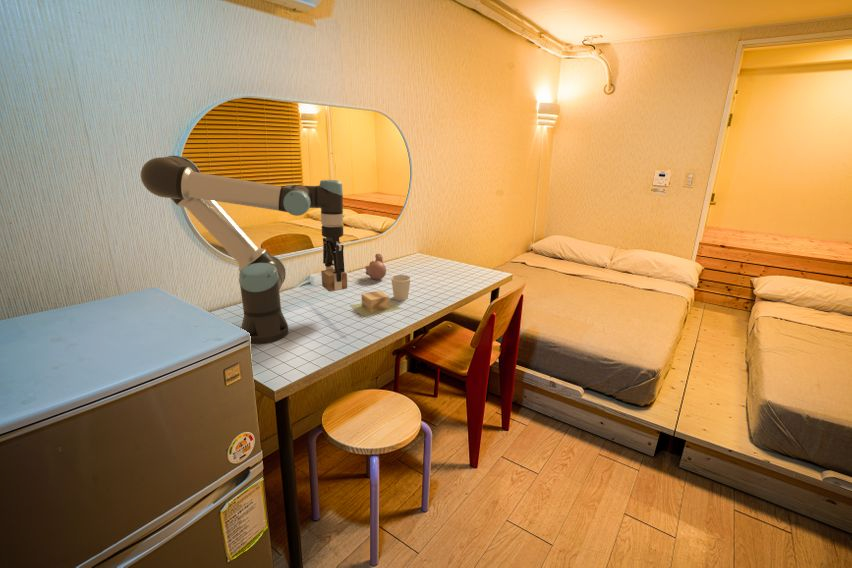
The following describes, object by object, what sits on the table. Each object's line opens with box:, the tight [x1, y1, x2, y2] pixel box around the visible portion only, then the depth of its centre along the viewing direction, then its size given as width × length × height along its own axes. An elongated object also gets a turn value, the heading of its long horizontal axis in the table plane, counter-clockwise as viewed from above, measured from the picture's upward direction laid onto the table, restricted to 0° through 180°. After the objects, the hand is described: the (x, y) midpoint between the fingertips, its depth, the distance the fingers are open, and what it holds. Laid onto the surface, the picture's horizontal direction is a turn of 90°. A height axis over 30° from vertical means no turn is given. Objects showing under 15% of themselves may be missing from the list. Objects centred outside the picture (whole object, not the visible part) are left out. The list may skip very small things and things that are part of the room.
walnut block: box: [320, 268, 348, 292], centre depth 152 cm, size 7×7×6 cm
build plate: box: [349, 300, 402, 318], centre depth 163 cm, size 16×13×1 cm
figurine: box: [364, 253, 387, 281], centre depth 198 cm, size 9×11×12 cm
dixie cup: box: [390, 274, 412, 301], centre depth 172 cm, size 8×8×10 cm
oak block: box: [361, 290, 390, 312], centre depth 162 cm, size 8×8×5 cm
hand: (334, 286), depth 153 cm, fingers closed on walnut block, 7 cm apart
